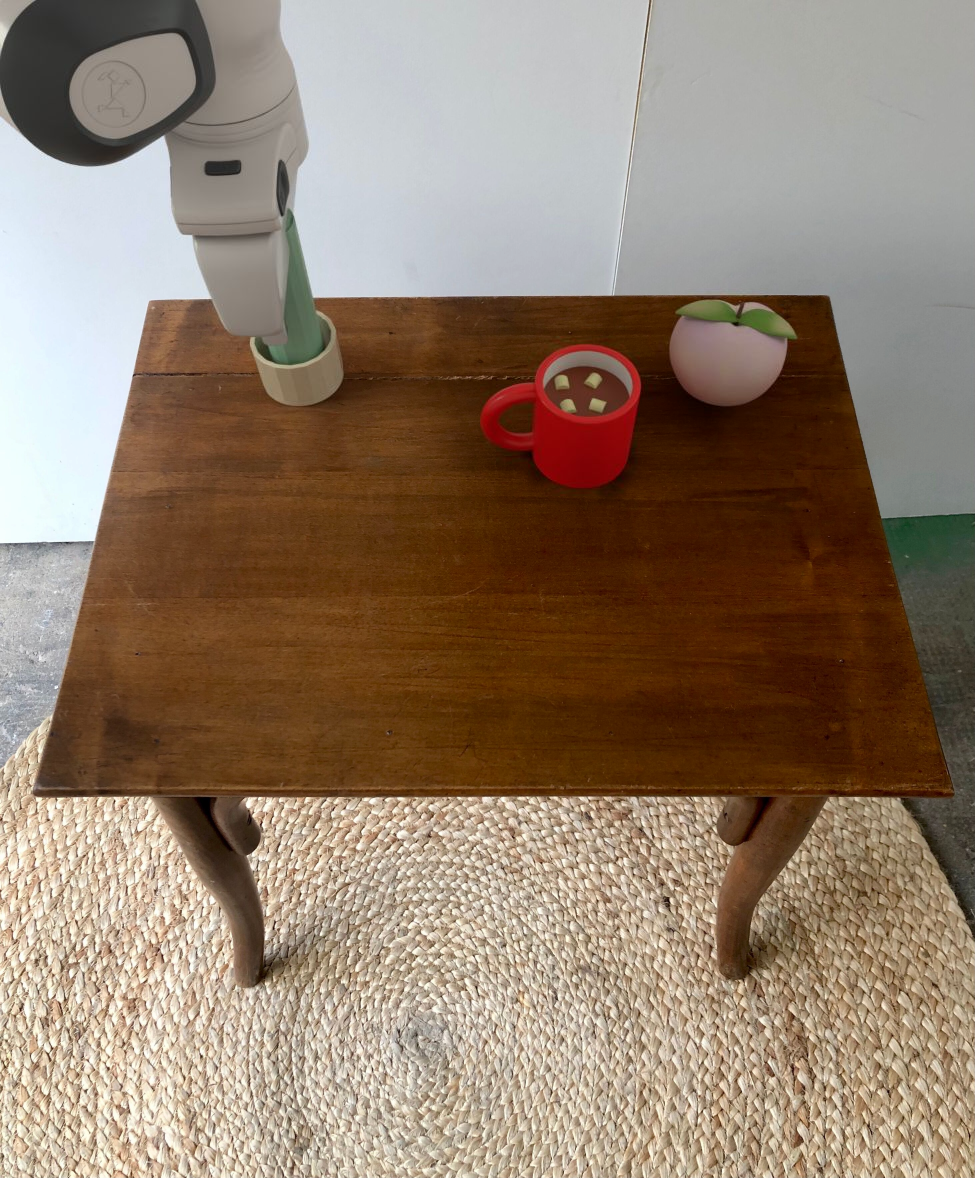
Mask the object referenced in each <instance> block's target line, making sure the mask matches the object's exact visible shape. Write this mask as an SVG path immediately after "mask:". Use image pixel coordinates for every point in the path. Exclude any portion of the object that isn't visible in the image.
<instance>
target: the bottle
mask: <svg viewBox="0 0 975 1178" xmlns="http://www.w3.org/2000/svg"><path fill="white" fill-rule="evenodd" d="M295 217H296V216H295V215H294V214H293V213H292V211H291V209H289V208H288V213H287V223H286V233H285V234H286V238H287V241H288V245H289V249H290V256H289V266H288V277H287V287H286V297H285V308H284V314H285V317H286V322H287V325H288V337H287V343H286V344H285V345H277V346H268V348H269V351H270V354H271V357H272V361H273V363H275V364H281V365H295V364H301V363H305V362H307V361H310V360H312V359H314V358H316V357H317V356H319V355H320V354H321V353H322V352H323V351H324V350H325V347H324V343H323V339H322V334H321V330H320V326H319V321H318V317H317V313H316V310H317V308H316V304H315V300H314V296H313V292H312V287H311V282H310V279H309V278H310V277H309V274H308V270H307V264H306V261H305V256H304V253H303V248H302V244H301V239H300V235H299V230H298V226H297V222H296V218H295Z"/></svg>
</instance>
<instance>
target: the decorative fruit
mask: <svg viewBox="0 0 975 1178" xmlns="http://www.w3.org/2000/svg"><path fill="white" fill-rule="evenodd" d="M674 314H676V315H679V316H680V317H679V319H678V321H677V322H676V324H675V326H674V328H673V330H672V333H671V336H670V341H669V349H668V350H669V360H670V364H671V367H672V371H673V373H674V375H675V377H676V379H677V381H678V382H679V384H680V386H681V387H682V388H683V389H684V391H685V392H687V394H689V395H690V396H691V397H693V398H694V399H696V400H699V401H700V402H702V403H706V404H709V405H713V406H718V407H733V406H735V407H736V406H741V405H744V404H747V403H750V402H751V401H753V400H755V399H758V398H759V397H760V396H762V395H763V394H765V392H767V391H768V389H769V388H771V386H772V385H773V384H774V383H775V382H776V380H777V379H778V377H779V376H780V374H781V372H782V370H783V366H784V364H785V361H786V356H787V351H788V340H797V339H798V336H797V334H796V332H795V329H793V327H792V326H791V325H790V323H789V322H788V321H786V320H785V319H784V318H783V317H782V316H781V315H779V314H777V313H776V312H775V311H773V310H772V309H771V308H769V306H766V305H764V304H762V303H760V302H756V301H755V302H754V301H749V302H745V301H740V303H739V304H737V305H733V304H732V303H729V302H727V301H724V300H720V299H702V300H696V301H694V302H691V303H688V304H685V305H683V306H682V307H680V308H679V309H677V310H676V311H674Z"/></svg>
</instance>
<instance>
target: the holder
mask: <svg viewBox="0 0 975 1178" xmlns="http://www.w3.org/2000/svg"><path fill="white" fill-rule="evenodd" d="M316 313H317V317H318V321H319V326H320V330H321V334H322V339H323V343H324V347H325V350H324V351H323V352H322V353H321V354H320V355H319V356H317V357H316V358H314V359H312V360H310V361H307V362H305V363H301V364H295V365H281V364H275V363H273V361H272V357H271V354H270V351H269V348H268V345H266V344H265V343H264V342H263V340H262V337H250V339H249V346H250V347H249V348H250V349H251V353H252V356H253V359H254V363H255V365H256V368H257V371H258V374H259V377H260V380H261V382H262V386H263V388H264V390H265V392H266V393H267V395H268V396H269V397H270V398H271V399H273V400H274V401H275V402H278V403H280V404H283V405H284V406H285V405H287V406H291V407H307V406H312V405H315V404H318V403H321V402H323V401H325V400H327V399H328V398H330V397H331V396H332V395H334V394H335V393H336V391H337V390H338V389H339V388H340V386H341V384H342V382H343V379H344V374H345V373H344V372H345V371H344V362H343V358H342V353H341V348H340V344H339V339H338V334H337V329H336V327H335V325H334V322H333V320H332V319H331V318H329V317H328V316H327V315H326V314H325V313H323V312H322V311H319V310H317V309H316Z"/></svg>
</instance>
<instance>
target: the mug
mask: <svg viewBox="0 0 975 1178" xmlns="http://www.w3.org/2000/svg"><path fill="white" fill-rule="evenodd" d="M641 390H642V382H641V376H640V374H639V372H638V370H637V368H636V366H634V363H633V362H631V361H630V360H629V359H628V357H626V356H624V354H621V353H620V352H618V351H616V350H614V349H612V348H610V347H605V346H602V345H597V344H589V343H588V344H587V343H586V344H584V343H583V344H581V343H579V344H575V345H569V346H567V347H563V348H559V349H558V350H556V351H554V352H552V353H551V354H550V355H548V356H547V357H546V358H545V359H543V361H542V363H540V365H539V367H538V368H537V370H536V373H535V377H534V382H521V383H518V384H512V385H510V386H508V387H505V388H502V389H501V390H499V391H497V392H496V393H495V394H493V395H492V396H491V397H489V399H488V400H487V401H486V403H484V406H483V407H482V409H481V413H480V417H479V418H480V419H479V423H480V424H479V426H480V428H481V431H482V432H483V434H484V436H485V438H486V439H487V440H488V441H489V442H490V443H492V444H493V445H494V446H497V447H499V448H500V449H501V448H502V449H505V450H508V451H514V452H531V455H532V459H533V462H534V464H535V465H536V467H537V469H538V470H539V471H540V472H541V474H543V475H544V476H545V478H548V479H549V480H550V481H552V482H553V483H556V484H558V485H560V486H563V487H566V488H572V489H592V488H597V487H598V488H599V487H601V486H604V485H606V484H608V483H610V482H612V481H614V480H615V479H616V478H617V477H618V476H619V475H621V473H622V471H623V470H624V469H625V467H626V466H627V463H628V461H629V454H630V450H631V444H632V439H633V433H634V428H635V424H636V419H637V412H638V408H639V407H638V406H639V402H640V396H641ZM522 403H523V404H524V403H533V409H532V411H533V413H532V414H533V415H532V431H529V432H514V431H513V432H512V431H509V430H508V429H506V428H504V427H502V426H501V424H500V421H499V420H500V417H501V416H502V414H503V413H504V412H505V411H506V410H507V409H509V408H511V407H513V406H515V405H518V404H522Z"/></svg>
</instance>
